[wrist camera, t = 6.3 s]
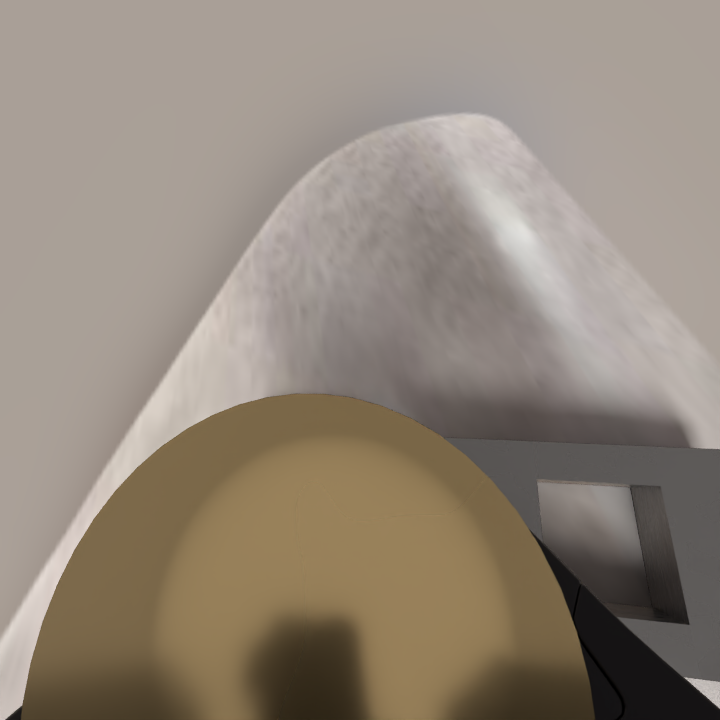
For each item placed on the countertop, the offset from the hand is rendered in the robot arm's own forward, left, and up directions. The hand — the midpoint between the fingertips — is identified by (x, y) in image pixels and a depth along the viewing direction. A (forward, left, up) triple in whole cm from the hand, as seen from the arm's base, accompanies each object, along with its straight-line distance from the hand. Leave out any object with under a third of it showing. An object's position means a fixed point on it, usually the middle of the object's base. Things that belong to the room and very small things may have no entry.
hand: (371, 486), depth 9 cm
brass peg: (-1, -1, -7) cm, 7 cm away
